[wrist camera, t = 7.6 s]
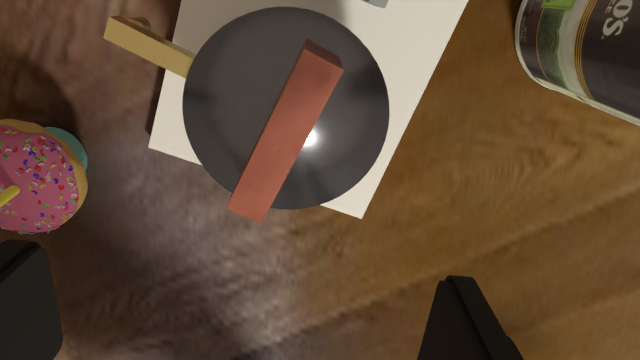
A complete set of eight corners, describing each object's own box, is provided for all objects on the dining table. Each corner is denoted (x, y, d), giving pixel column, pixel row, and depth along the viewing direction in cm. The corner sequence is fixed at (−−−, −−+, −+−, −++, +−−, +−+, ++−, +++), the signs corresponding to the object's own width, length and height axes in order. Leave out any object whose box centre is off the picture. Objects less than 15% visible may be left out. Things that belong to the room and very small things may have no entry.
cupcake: (76, 90, 31) (-52, 143, 20) (131, 186, 35) (46, 276, 24) (-21, 124, 32) (-192, 192, 21) (42, 214, 36) (-79, 312, 25)
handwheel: (413, 62, 27) (454, 92, 19) (326, 206, 31) (330, 279, 23) (166, -78, 24) (91, -113, 16) (108, 105, 28) (26, 150, 20)
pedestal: (360, 211, 36) (368, 252, 30) (153, 142, 33) (120, 173, 27) (487, -52, 28) (531, -63, 22) (227, -175, 25) (200, -225, 19)
